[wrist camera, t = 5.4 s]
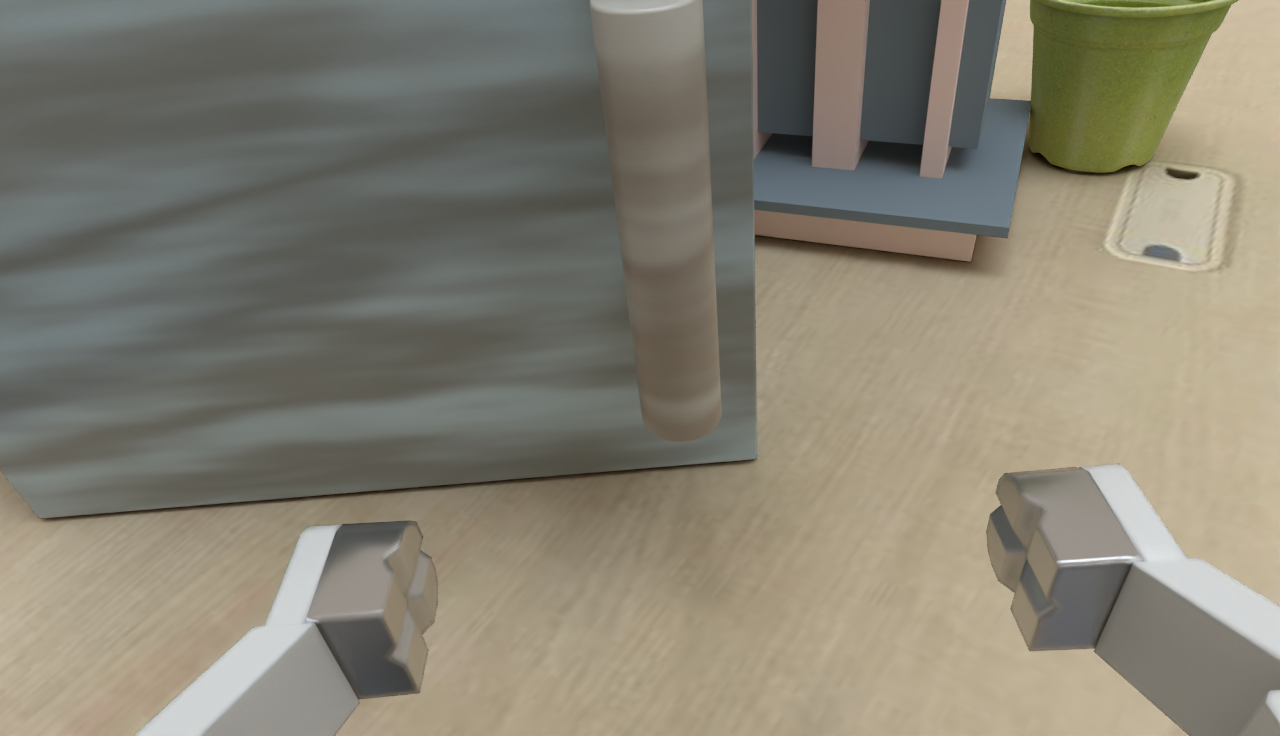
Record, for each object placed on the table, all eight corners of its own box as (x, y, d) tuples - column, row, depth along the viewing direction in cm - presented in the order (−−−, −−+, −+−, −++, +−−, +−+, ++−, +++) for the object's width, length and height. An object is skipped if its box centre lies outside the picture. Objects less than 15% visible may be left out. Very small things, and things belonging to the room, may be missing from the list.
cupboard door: (784, 605, 24) (811, -645, 9) (-70, 669, 25) (-1238, -357, 11) (753, 440, 30) (739, -514, 15) (53, 498, 31) (-603, -334, 16)
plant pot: (1011, 109, 50) (1040, -48, 44) (1192, 124, 46) (1248, -46, 40) (980, 176, 44) (1009, 4, 38) (1186, 201, 40) (1251, 12, 34)
